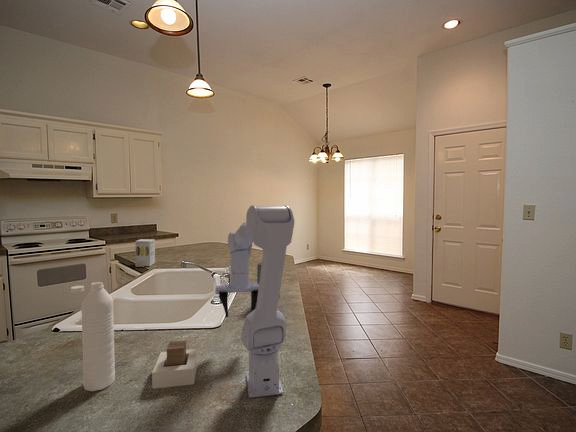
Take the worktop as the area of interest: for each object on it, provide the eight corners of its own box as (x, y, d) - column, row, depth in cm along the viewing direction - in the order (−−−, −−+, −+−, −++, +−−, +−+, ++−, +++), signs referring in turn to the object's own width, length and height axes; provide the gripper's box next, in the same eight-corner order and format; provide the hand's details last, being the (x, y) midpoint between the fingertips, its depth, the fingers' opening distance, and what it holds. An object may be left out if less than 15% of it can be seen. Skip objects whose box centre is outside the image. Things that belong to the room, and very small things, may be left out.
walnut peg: (183, 378, 75) (183, 347, 74) (167, 380, 74) (166, 349, 73) (186, 369, 79) (185, 340, 78) (170, 371, 78) (169, 341, 77)
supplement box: (134, 267, 190) (134, 240, 189) (140, 263, 199) (140, 238, 198) (150, 266, 191) (150, 241, 190) (155, 263, 200) (155, 239, 199)
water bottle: (105, 372, 77) (103, 277, 75) (120, 380, 73) (118, 281, 72) (67, 391, 69) (63, 286, 68) (81, 401, 66) (78, 290, 64)
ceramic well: (194, 384, 72) (194, 368, 72) (152, 388, 70) (152, 372, 70) (197, 362, 82) (197, 348, 81) (160, 366, 80) (160, 352, 79)
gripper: (261, 267, 96) (261, 308, 97) (215, 269, 93) (215, 311, 94) (264, 273, 89) (264, 317, 90) (215, 275, 86) (215, 320, 87)
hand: (239, 315), depth 92 cm, fingers open, 7 cm apart
